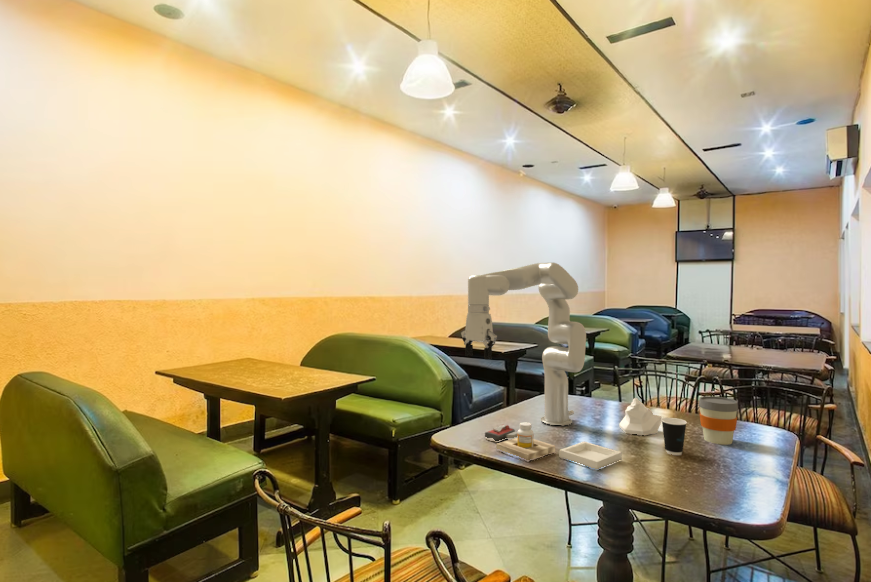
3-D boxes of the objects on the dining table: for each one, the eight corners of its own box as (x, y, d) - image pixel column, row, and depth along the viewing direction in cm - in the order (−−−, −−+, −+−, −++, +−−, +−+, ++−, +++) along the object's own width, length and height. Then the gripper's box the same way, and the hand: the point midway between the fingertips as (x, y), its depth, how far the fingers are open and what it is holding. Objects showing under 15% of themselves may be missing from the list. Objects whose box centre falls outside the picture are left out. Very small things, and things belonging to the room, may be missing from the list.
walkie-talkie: (501, 446, 170) (531, 433, 185) (501, 434, 170) (531, 422, 185) (481, 440, 176) (512, 429, 191) (481, 429, 176) (512, 418, 191)
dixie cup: (686, 458, 157) (686, 425, 157) (660, 454, 161) (660, 421, 161) (687, 451, 164) (687, 419, 164) (661, 447, 168) (662, 416, 168)
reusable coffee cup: (698, 442, 173) (699, 401, 173) (698, 433, 184) (698, 394, 184) (739, 448, 167) (739, 405, 167) (736, 438, 178) (736, 398, 178)
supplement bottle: (522, 448, 167) (522, 420, 167) (536, 451, 164) (536, 423, 164) (514, 452, 163) (514, 424, 163) (528, 456, 160) (528, 426, 160)
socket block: (523, 442, 173) (523, 435, 173) (555, 453, 162) (555, 445, 162) (496, 450, 164) (496, 443, 164) (527, 462, 154) (527, 454, 154)
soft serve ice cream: (658, 442, 178) (654, 407, 176) (617, 439, 187) (611, 405, 184) (662, 426, 189) (658, 392, 186) (622, 423, 197) (618, 391, 194)
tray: (584, 449, 166) (584, 441, 166) (621, 460, 155) (621, 452, 155) (559, 458, 157) (559, 449, 157) (597, 471, 146) (597, 461, 146)
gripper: (503, 310, 167) (503, 359, 167) (469, 308, 180) (469, 353, 180) (488, 310, 162) (488, 361, 162) (454, 309, 176) (454, 355, 176)
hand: (478, 357), depth 171 cm, fingers open, 9 cm apart
